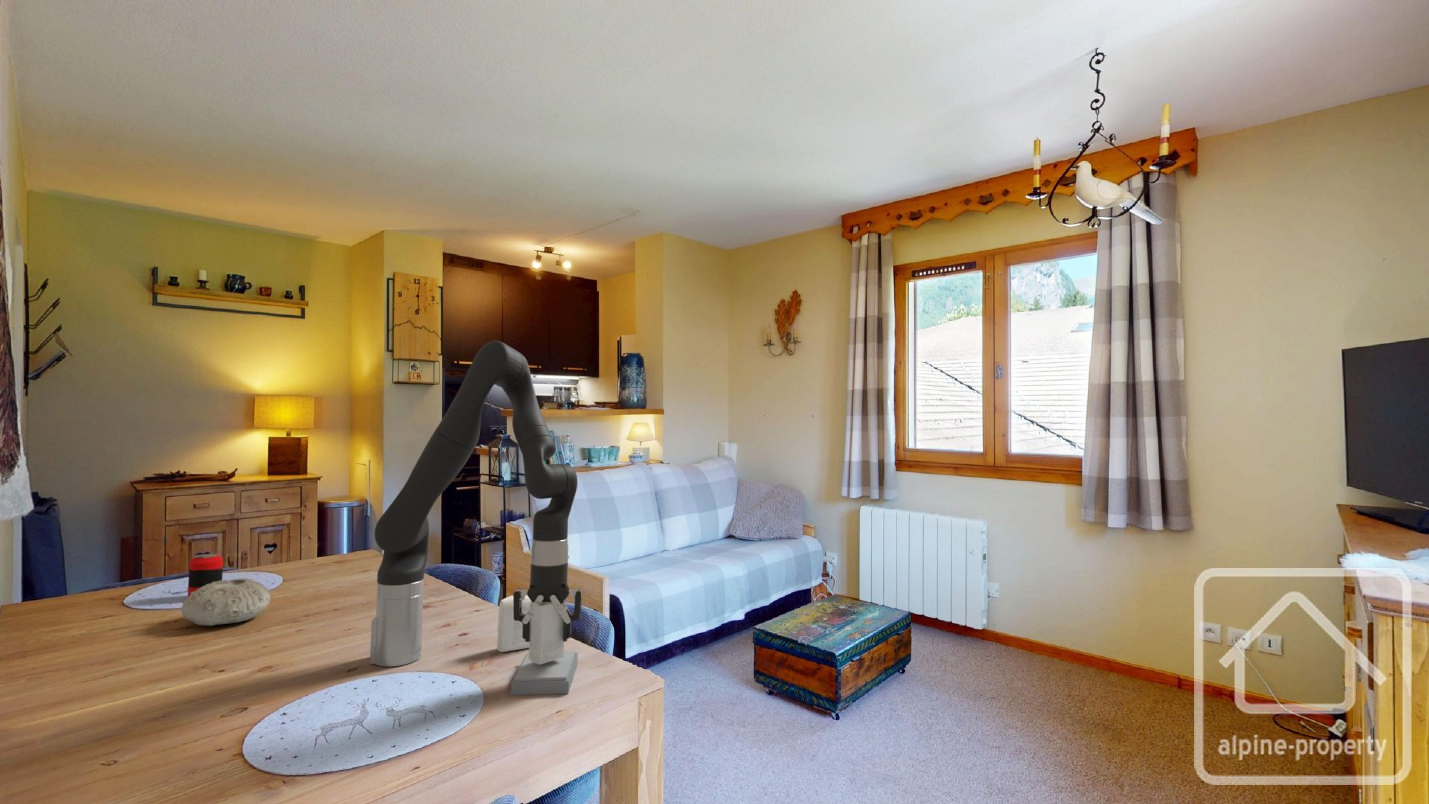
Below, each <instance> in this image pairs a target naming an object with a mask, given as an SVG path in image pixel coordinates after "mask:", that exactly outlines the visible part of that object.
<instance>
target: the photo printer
mask: <svg viewBox="0 0 1429 804" xmlns="http://www.w3.org/2000/svg"><path fill="white" fill-rule="evenodd" d="M531 602H532V601H531V600H530V599H529V597H528V596H527V595H526V596H525V599H524V600H523V601H522V613H523V614H527V612H528V611H529V609H530V603H531ZM497 624H498V625H497V641H496V642H497V643H496V644H497V646H496V648H497V649H496V650H497V651H498V652H499V653H504V652H505V653H506V652H510V651H511V652H512V651H516V650H523V649H529V642H525V639H523V637H522V632H523V624H522V622H520V621H515V620H514V612H513V595H510V596H507V597H505V598H503V599H501V600H500V602H499V608H498V622H497Z"/></svg>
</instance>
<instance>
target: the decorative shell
mask: <svg viewBox="0 0 1429 804" xmlns="http://www.w3.org/2000/svg"><path fill="white" fill-rule="evenodd" d="M269 591H270V590H269V588H267V587H266V586H265V585H264V584H263V583H261V582H260V581H257V580H254V579H253V578H251V579H250V578H246V577H245V578H244V577H243V578H241V577H240V578H237V579H230V580H229V579H228V580H227V579H222V581H216V582H212V583H210V584H206V585H205V586H203V587H201V588H199V589H197V590H196V591H194V592H191V593H190V596H189V597H188V596H187V598H186V599H184V600H183V601H182V606H181V614H182V616H183V618H184V619H186V620H189V621H190V622H193V623H194V624H196V625H198V626H208V627H211V626H216V625H217V626H218V625H225V624H235V623H242V622H244V621H249V620H250V619H253V618H255V617H257V616H259V615H260V614H261V613H263V612H264V611H265V610H266V609H267V608H268V606H269V604H270V601H271V595H270V592H269Z"/></svg>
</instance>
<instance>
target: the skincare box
mask: <svg viewBox="0 0 1429 804" xmlns="http://www.w3.org/2000/svg"><path fill="white" fill-rule="evenodd" d="M533 603H534V602H531V603H530V608H531V606H532V605H533ZM565 604H566V599H565V600H564V602H563V603H562V606H563V607H565ZM533 610H534V614H533V615H532V617H531V619H530V632H529V648H528V652H529V660H530V661H532V662H534V663H536V664H539V665H541V664H544V663H547V662H550V661H552V660H555V659H558V658H561V657H563V656H564V651H565V642H563V627H564V622H565V621H564V619H563V618H562V616H561V615H560V614H559V612H558V611H557V609H556V607H555V606H554V604H553V603H552V602H541V603H534V609H533Z"/></svg>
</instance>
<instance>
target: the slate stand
mask: <svg viewBox="0 0 1429 804" xmlns="http://www.w3.org/2000/svg"><path fill="white" fill-rule="evenodd" d="M578 655H579V652H576V650H564V656H563V657H561V658H558V659H555V660H552V661H550V662H547V663H544V664H541V665H539V664H536V663H534V662H532V661H530V660H529V651H527V652H526V654H525V655H524V657H523V659H522V661H521V663H520V665H519V667H518V669H517V671H515V672H516V673H515V674H514V676H513V678H512V680H511V682H510V696H525V695H527V696H529V695H533V696H534V695H564V694H565V695H567V694H568V695H569V693H570V690H571V687H572V683H573V679H574V677H575V674H574V673H576V670H577V667H578V664H577V663H578V657H579V656H578Z"/></svg>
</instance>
